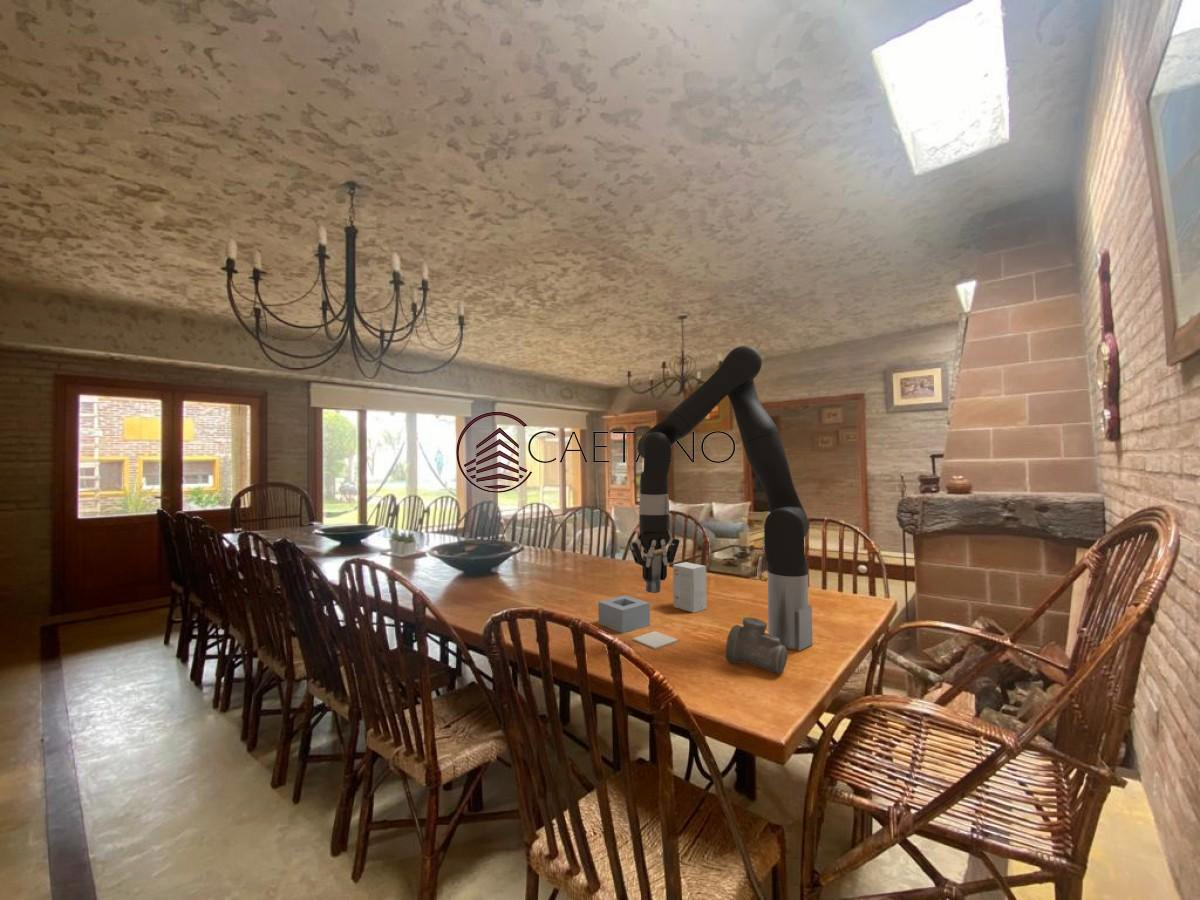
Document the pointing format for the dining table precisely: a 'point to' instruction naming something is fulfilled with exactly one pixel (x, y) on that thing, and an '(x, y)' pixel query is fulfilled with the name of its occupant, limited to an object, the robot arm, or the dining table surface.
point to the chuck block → (624, 613)
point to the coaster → (655, 640)
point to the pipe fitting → (755, 646)
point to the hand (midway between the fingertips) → (654, 580)
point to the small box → (689, 587)
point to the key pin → (655, 572)
